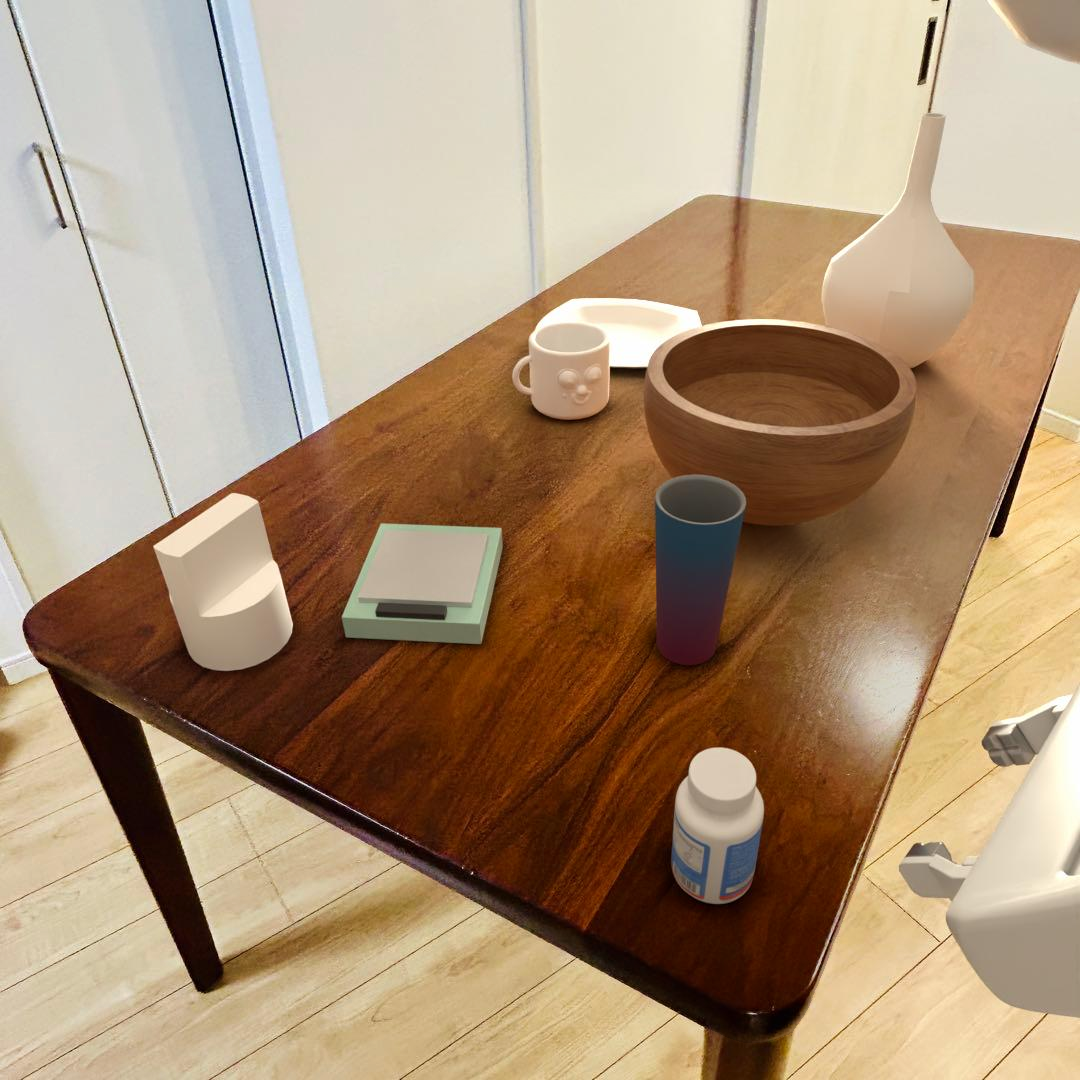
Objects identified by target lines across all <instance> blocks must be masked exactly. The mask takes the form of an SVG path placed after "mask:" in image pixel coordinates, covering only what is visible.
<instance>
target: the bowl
mask: <svg viewBox="0 0 1080 1080" xmlns="http://www.w3.org/2000/svg"><path fill="white" fill-rule="evenodd" d="M643 387H644V388H643V410H644V418H645V423H646V428H647V431H648V435H649V438H650V441H651V444H652V446H653V448H654V451H655V453H656V455H657V457H658V459H659V461H660V462H661V464H662V466H663V468H665V470H666V472H667V473H668V475H669V476H670V477H671V479H673V478H676V477H679V476H685V475H707V476H713V477H717V478H721V479H723V480H726V481H728V482H730V483H732V484H734V485H735V486H736V487H738V488H739V489H740V490H741V491H742V492H743V494H744V496H745V498H746V507H745V512H744V517H743V522H742V523H747V524H752V525H759V526H790V525H798V524H802V523H803V524H804V523H807V522H811V521H815V520H817V519H821V518H824V517H826V516H829V515H831V514H833V513H836V512H837V511H840V510H841V509H844V508H845V507H847V506H849V505H850V504H852V503H853V502H855V501H856V500H858V499H860V498H861V497H862V496H863V495H865V494H866V493H867V492H868V491H869V490H870V489H871V488H873V487H874V486H875V485H876V484H877V482H878V481H880V480H881V478H882V477H883V476H884V475H885V474H886V472H887V471H888V470H889V468H890V467H891V466H892V464H893V463H894V461H895V460H896V458H897V456H898V455H899V454H900V451H901V450H902V447H903V446H904V443H905V441H906V439H907V436H908V434H909V431H910V428H911V425H912V421H913V417H914V413H915V408H916V401H917V400H916V399H917V381H916V377H915V375H914V373H913V371H912V368H909V367H908V365H907V364H906V363H905V362H904V361H903V360H902V359H901V358H900V357H898V356H897V355H896V354H894V353H893V352H892V351H890V350H888V349H887V348H885V347H883V346H882V345H880V344H878V343H876V342H874V341H871V340H869V339H867V338H864V337H862V336H859V335H856V334H853V333H850V332H847V331H844V330H840V329H836V328H832V327H828V326H826V325H823V324H817V323H812V322H805V321H798V320H787V319H785V320H784V319H769V318H767V319H766V318H762V319H761V318H757V319H755V318H754V319H751V318H750V319H735V320H726V321H720V322H714V323H708V324H705V325H702V326H700V327H696V328H693V329H690V330H687V331H684V332H682V333H679V334H677V335H675V336H673V337H671V338H670V339H668V340H666V341H665V342H664V343H662V344H661V345H660V346H659V347H658V348H657V349H656V350H655V351H654V352H653V354H652V355H651V357H650V360H649V363H648V367H647V368H646V371H645V378H644V386H643Z"/></svg>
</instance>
